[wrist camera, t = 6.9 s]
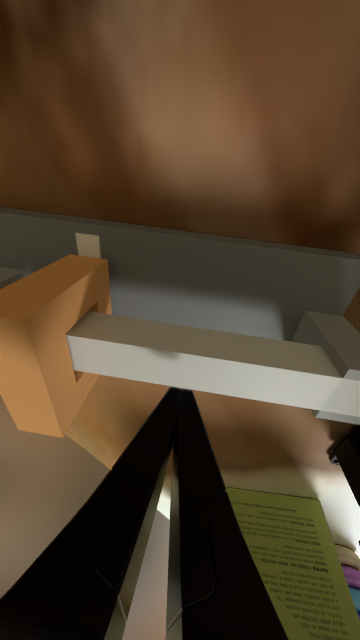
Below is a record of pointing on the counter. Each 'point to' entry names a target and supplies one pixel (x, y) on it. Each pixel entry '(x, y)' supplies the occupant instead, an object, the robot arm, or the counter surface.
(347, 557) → the stacking toy
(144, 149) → the counter surface
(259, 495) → the protein box
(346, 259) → the pipe rig
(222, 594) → the robot arm
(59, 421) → the collar
